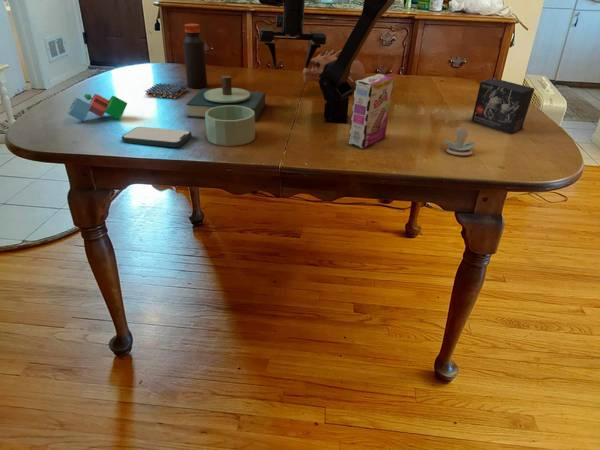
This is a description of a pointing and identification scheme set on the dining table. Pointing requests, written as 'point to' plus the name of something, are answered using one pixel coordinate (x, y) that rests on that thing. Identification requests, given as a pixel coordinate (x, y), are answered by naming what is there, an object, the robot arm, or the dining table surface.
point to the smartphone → (157, 136)
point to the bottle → (194, 57)
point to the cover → (226, 93)
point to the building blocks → (97, 107)
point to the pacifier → (460, 143)
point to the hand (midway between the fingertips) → (290, 67)
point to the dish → (230, 125)
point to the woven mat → (166, 90)
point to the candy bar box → (370, 110)
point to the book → (201, 105)
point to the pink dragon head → (320, 61)
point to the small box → (502, 105)
